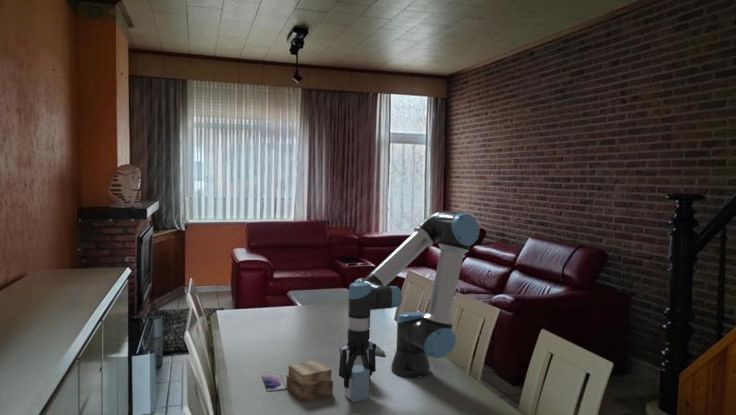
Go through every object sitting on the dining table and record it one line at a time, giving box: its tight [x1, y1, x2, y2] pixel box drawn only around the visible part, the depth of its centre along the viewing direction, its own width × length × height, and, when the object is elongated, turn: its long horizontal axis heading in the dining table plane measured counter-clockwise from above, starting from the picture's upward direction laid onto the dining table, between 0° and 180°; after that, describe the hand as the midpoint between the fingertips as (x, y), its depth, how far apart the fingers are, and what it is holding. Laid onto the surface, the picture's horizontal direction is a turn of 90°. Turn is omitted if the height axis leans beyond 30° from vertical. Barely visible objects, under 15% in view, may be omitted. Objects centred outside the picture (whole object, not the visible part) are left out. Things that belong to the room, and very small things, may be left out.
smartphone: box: [261, 373, 287, 393], centre depth 192 cm, size 7×1×15 cm
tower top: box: [287, 359, 332, 387], centre depth 185 cm, size 11×11×4 cm
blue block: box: [344, 365, 371, 403], centre depth 181 cm, size 6×6×10 cm
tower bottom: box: [286, 375, 334, 402], centre depth 185 cm, size 12×12×5 cm
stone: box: [370, 341, 386, 357], centre depth 231 cm, size 17×3×10 cm
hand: (356, 394), depth 182 cm, fingers closed on blue block, 6 cm apart
